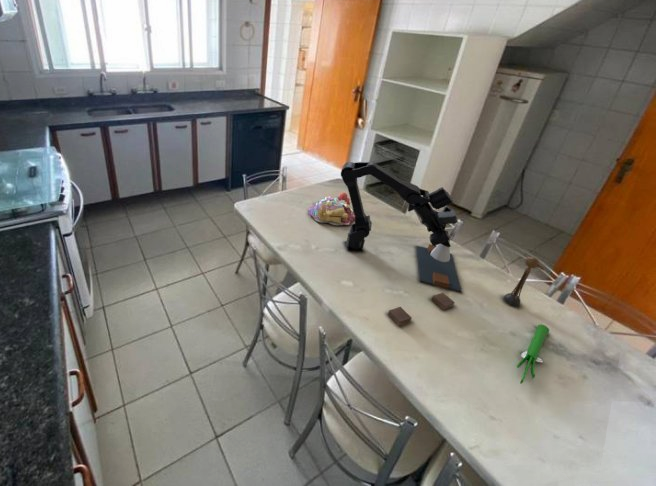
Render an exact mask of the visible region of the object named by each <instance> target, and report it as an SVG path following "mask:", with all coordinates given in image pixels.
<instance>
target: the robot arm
mask: <svg viewBox="0 0 656 486" xmlns="http://www.w3.org/2000/svg"><path fill="white" fill-rule="evenodd" d="M366 176H372V177H373V178H375V179H377V180H378V181H380V182H382V183H383V184H385V185H386V186H388V187H389V188H391V189H392V190H394V191H395V192H396V193H397V194H398V195H399V197H400V198H402V200H403V201H404V202H406V203H407V204H408V205H407V212H409V213H410V212H412V211H414V212H415V214H416V215H417V216H418V218H419V219H420V222H421V224H422V225H424V226H425V227H426V230H427V232H428V233H430V232H431V233H430V234H429V242H430V244H431V245H433V246H438V244H442V245H444V246H446V247H449V248H451V247H452V245H451V242H450V243H449V241H448V240H449V239H450V238H449V235H450V234H449V231H448V230H446V227H447V225H450V224H451V225H452V224H457V223H458V218H457V213H456V211H455V210H454V209H451V207H449V206H450V205H451V204H454V200H453V198H452V197H451V195H450V193H449V192H448V191H446V189H445V188H444V187H443V186H441V187H439V188H438V189H436V190H435V191H432V192H429V190H426V189H422V188H420V187H419V186H418V185H416V184H414V183H411V182H409V181H405V180H402V179H400V178H399V177H397V176H395V175H394V174H393V173H391V172H389V171H388V170H386V169H384V168H383V167H381V165H378V164H377V163H376V162H374V161H356V162H352V161H346V162H345V163H344V164H343V165H342V168H341V170H340V177H341V179H342V181H343V183H344V185H345V186H346V187H347V192H348V195H349V199H350V204H351V208H352V210H353V214H354V216H355V220H354V223H352V224H351V225H350V229H349V232H348V233H347V237H346V241H344V245H345V247H346V249H347V252H360V253H361V252H364V249H363V248H364V246H365V241H366V239H365V238H367V237H368V236H370V233H371V231H372V224H373V222H372V221H371V215H369V214H368V215H367V214H366V213H365V209H364V205H363V201H362V197H361V192H360V189H359V184H358V179H359V178H363V177H366ZM442 208H443V209H442ZM440 209H442V210H441V212H440V211H438V210H440Z"/></svg>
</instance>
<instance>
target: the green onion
mask: <svg viewBox="0 0 656 486" xmlns="http://www.w3.org/2000/svg"><path fill="white" fill-rule="evenodd" d="M549 332H550V328H549V327H548V326H547V325H545V324H541V323H540V324H538V325H537V327H536V330H535V333H534V335H533V337H532V339H531V341H530V344H529V346H528V349H527V350H525V351H524V352H522V353H521V355H520V356H521V358H522V359H521V361H520V362H518V363H517V365H516V368H517V369H519V368H520V367H521V366H522V365H523V364H524V363H525V362H527V363H526V365H525V368H524V370H523V373H522V377H521V379H520V382H519V383H520V384H521V385H522V384H523V383H524V381H525V378H526V375H527V373H528V372H529V371H528V370H529V368H530V375H531V379H535V377H536V372H535V363H536V362H537V363H544V361H543V359H541V358H540V357H539V355H540V352H541V349H542V347H543V345H544V343H545V339H546V338H547V336H548V334H549Z"/></svg>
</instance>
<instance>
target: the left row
mask: <svg viewBox="0 0 656 486" xmlns="http://www.w3.org/2000/svg"><path fill="white" fill-rule="evenodd" d="M431 302H433V303H434V304H435V305H436V306H437V307H439V308H440V309H441V310H443V311H444V310H447V309H450V308H452V307H454V305H455V301H454V300H453V299H451V298H450V297H449V296H448V295H447V294H445V293H444V292H440V293H437V294H434V295H432V296H431ZM387 316H388V317H389V318H390V319H391V320H392V321H393V322H394V323H395V324H396V325H397V326H398V327H400V326H403V325H406V324H409V323H411V321H412V318H413V317H412V316H411V315H410V314H409V313H408V312H407V311H406V310H405V309H404V308H403V307H402V306H398V307H395V308H392V309H389V310H388V313H387Z"/></svg>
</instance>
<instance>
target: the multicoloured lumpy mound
mask: <svg viewBox="0 0 656 486" xmlns="http://www.w3.org/2000/svg"><path fill="white" fill-rule="evenodd" d="M340 201H344V202H345V203H342V202H340ZM310 205H311V206H309V208H308V210H309V211H308V215H309V216H310V217H311V218H312V217H313V219H314V220H315V221H316V222H318V223H321V224H322V223H325V224H326V223H328V224H330V225H333V226H344V225H346V226H349V225H350V224H354V221H355V215H354V211H353V207H352V206H351V199H350V197H348V193H346V192H345V191H344V192H341V193H340V194H339V195H337V196H336V197H334V196H331V195H329V196H325V197H324V198H320V200H317V202H316V203H315V202H312V203H311V204H310Z"/></svg>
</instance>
